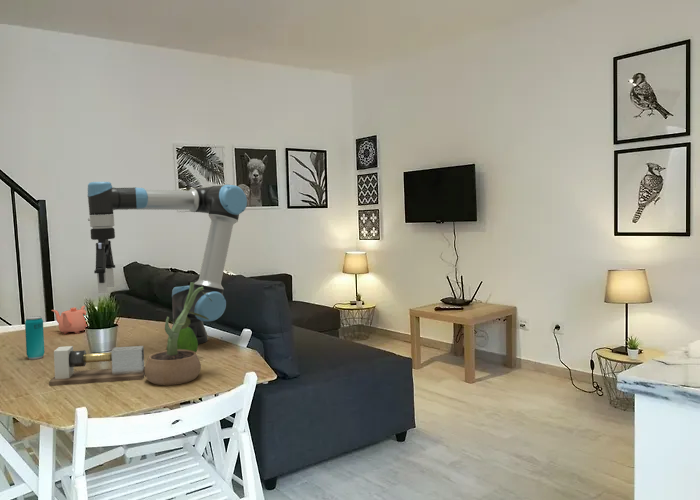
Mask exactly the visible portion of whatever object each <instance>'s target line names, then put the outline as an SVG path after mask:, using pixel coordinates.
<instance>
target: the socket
mask: <svg viewBox="0 0 700 500" xmlns="http://www.w3.org/2000/svg"><path fill="white" fill-rule="evenodd" d="M70 351H74V346H73V345H71V346H69V345H67V346H58V347H57V348H56V349H55V350H53V357H54V358H53V361H54V363H53V364H54V377H55V379H67V378H70V377H71V376H72V375H73V374H74V371H75V370H74V369H75V367H70V366H69V354H70Z"/></svg>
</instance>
